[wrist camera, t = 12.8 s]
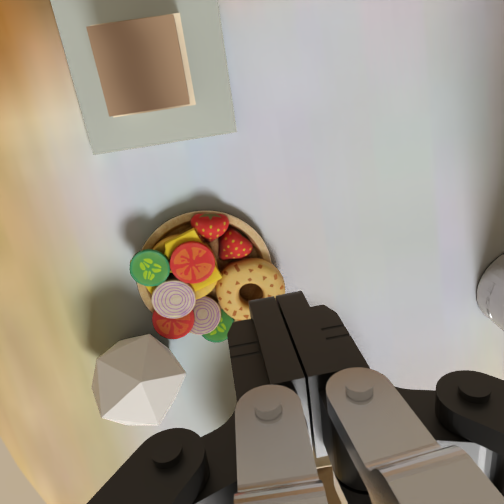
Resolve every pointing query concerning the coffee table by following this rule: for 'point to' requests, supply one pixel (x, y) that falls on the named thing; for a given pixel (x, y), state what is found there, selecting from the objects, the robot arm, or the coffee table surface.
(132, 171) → the coffee table surface
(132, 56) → the walnut cube
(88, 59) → the board
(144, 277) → the toy food set
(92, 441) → the coffee table surface
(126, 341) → the die
